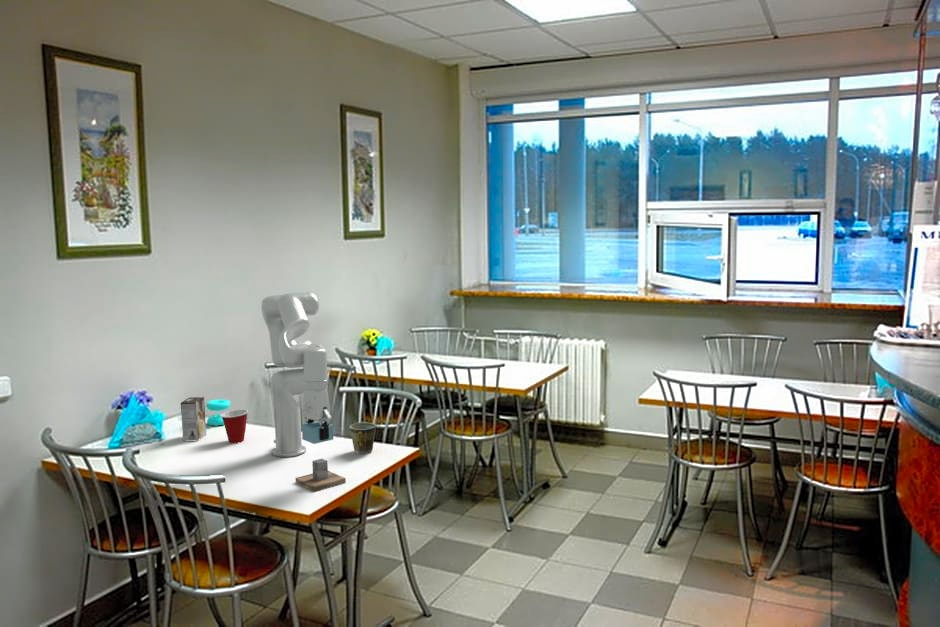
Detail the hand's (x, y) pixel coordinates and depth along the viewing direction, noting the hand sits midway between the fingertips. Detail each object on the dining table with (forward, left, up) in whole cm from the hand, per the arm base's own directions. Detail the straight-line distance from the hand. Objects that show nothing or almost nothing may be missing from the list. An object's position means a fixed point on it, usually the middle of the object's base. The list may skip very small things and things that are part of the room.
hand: (317, 436), depth 250 cm
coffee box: (-81, -9, -16) cm, 83 cm away
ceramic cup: (-17, +29, -16) cm, 37 cm away
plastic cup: (-65, +1, -16) cm, 67 cm away
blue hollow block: (0, 0, -1) cm, 1 cm away
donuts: (-95, +8, -16) cm, 97 cm away
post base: (0, 0, -16) cm, 16 cm away
